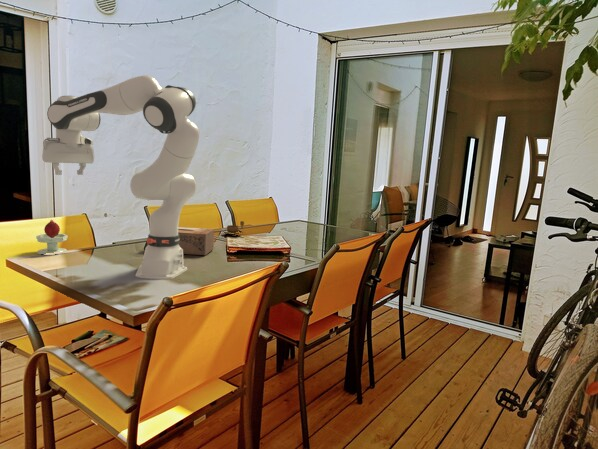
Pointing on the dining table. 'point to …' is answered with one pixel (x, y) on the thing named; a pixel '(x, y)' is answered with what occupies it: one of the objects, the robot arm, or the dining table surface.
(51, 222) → the onion
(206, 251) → the tissue box cover
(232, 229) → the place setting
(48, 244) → the stand
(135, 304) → the dining table surface
